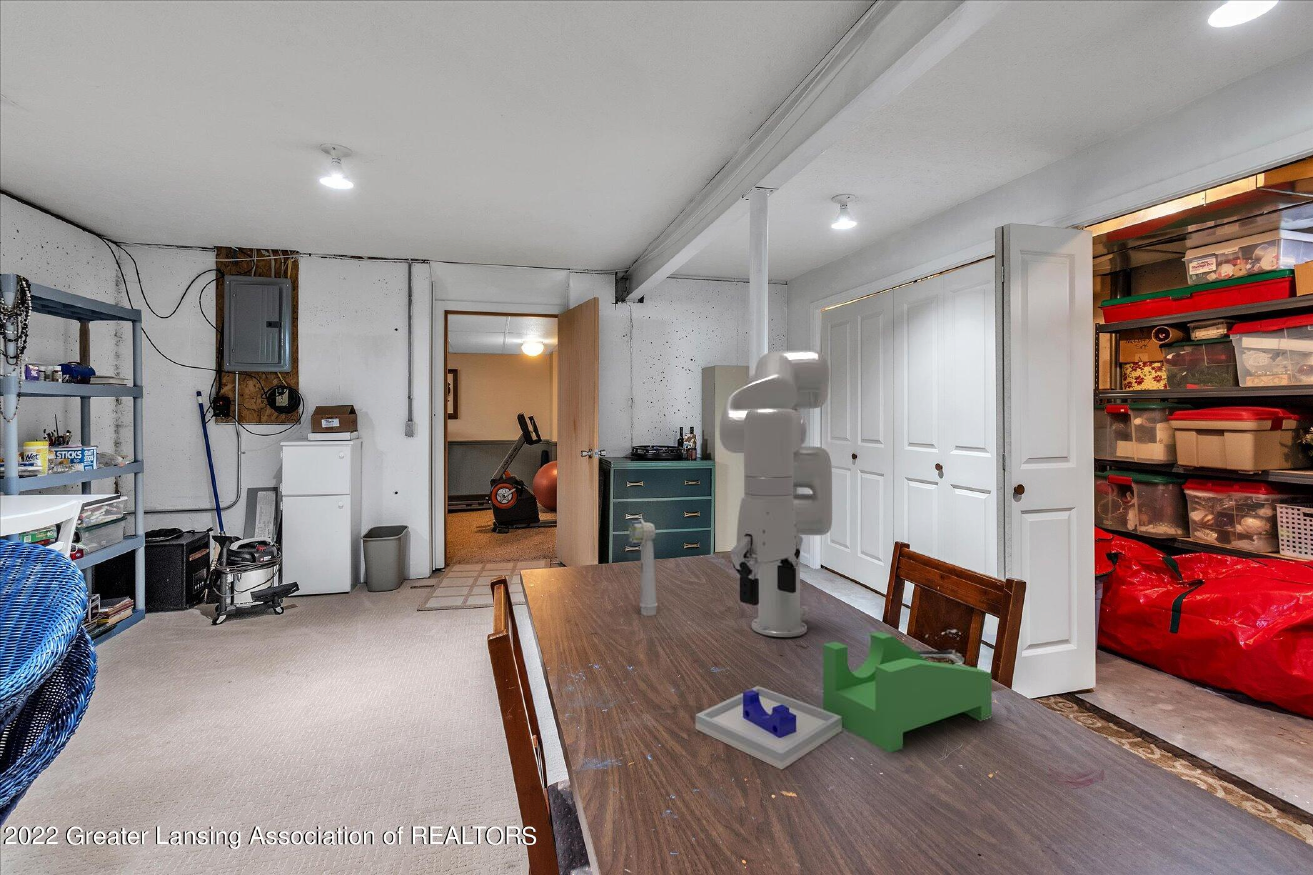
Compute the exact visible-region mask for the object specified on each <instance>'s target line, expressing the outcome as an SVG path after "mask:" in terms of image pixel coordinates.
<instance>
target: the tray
mask: <svg viewBox="0 0 1313 875" xmlns="http://www.w3.org/2000/svg"><path fill="white" fill-rule="evenodd" d="M749 690H754V691H756V692H758V693H759V699H760V702H761V704H762V706H763V708H764V710H765V711H766V712H767V713H768V714H771V713H772V708H773V707H775V706H778V705H781V704H782V705H784V706H786V707H788V708H789V712H791V713H793V714H795V715H796V732H795V733H792V734H789V735H787V736H784V737H782V738H778V737H777V736H775V735H773V734H771V733H769V732H768V731H766V730H764V729H762V728H761V727H759V726H757V725H755V724H753V723H752V722H750V721H748V720H746V719H745V718H743V692H742V693H739V694H738V695H735V696H733V697H731V698H729V699H727V700H725V701H722V702H720V703H718V704H716V705H713V706H711V707H710V708H709V707H708V708H707V709H705V710H703V711H701V712H698V713H695V730H697V731H699V732H701V733H703V734H705V735H708V736H710V737H712V738H714V739H716V740H718V741H720V742H722V743H725V744H727V745H728V746H730V747H733V748H734V749H737V750H739V751H741V752H743V753H746V754H748V755H749V756H752V757H754V758H756V759H759V760H760V761H762V762H765V763H767V764H769V765H771V766H772V767H775V768H777V769H779V770H783V769H786V768H787V767H788V766H790V765H792V764H793V763H795V762H796V761H798V760H799V759H800V758H802V757H804V756H806V755H807V754H809V753H810V752H811V751H813V750H814V749H816V748H818V747H820V746H821V745H823V744H824V743H825V742H827V741H828V740H830V739H831V738H833V737H834V736H836V735H837V734H839V733H840V732H842V730H843V726H842V716H839V715H836V714H833V713H831V712H828V711H825V710H823V708H819V707H816V706H814V705H811V704H809V703H805V702H803V701H801V700H797V699H795V698H792V697H789V696H786V695H783V694H782V693H779V692H776V691H773V690H771V689H768V688H764V687H762V686H760V685H757V686H755V687H753V688H749V689H748V690H747V691H749Z"/></svg>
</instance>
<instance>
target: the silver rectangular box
mask: <svg viewBox="0 0 1313 875" xmlns="http://www.w3.org/2000/svg"><path fill="white" fill-rule="evenodd" d="M949 632H951V634H949ZM956 632H958V630H957V629H955V628H954V629H950V630H949V629H947V634H949V635H950V637H953V636H952V635H954V634H953V633H956ZM945 633H946V631H945V632H944V631H943V632H941V635H944V634H945ZM961 633H962V632H958V634H959V635H961ZM928 636H929V634H926V636H925V638H928ZM935 639H937V637H936V636H935ZM959 639H960V637H957V638H956V640H958V641H959ZM956 645H957V644H955V646H956ZM918 646H919V642H917V644H916V646H914V647H913V649H914V648H915V647H918ZM955 650H956V649H948V650H926V649H925V650H922V651H919V650H914V651H915V652H917V653H918V654H920V655H921V656H923V657H924V658H926V659H927V660H928V661H930V662H937V663H945V664H952V665H959V666H966V667H970V665H966V664H964V662H965V657H963V656H962V654H960V653H959V652H955ZM963 664H964V665H963Z"/></svg>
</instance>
